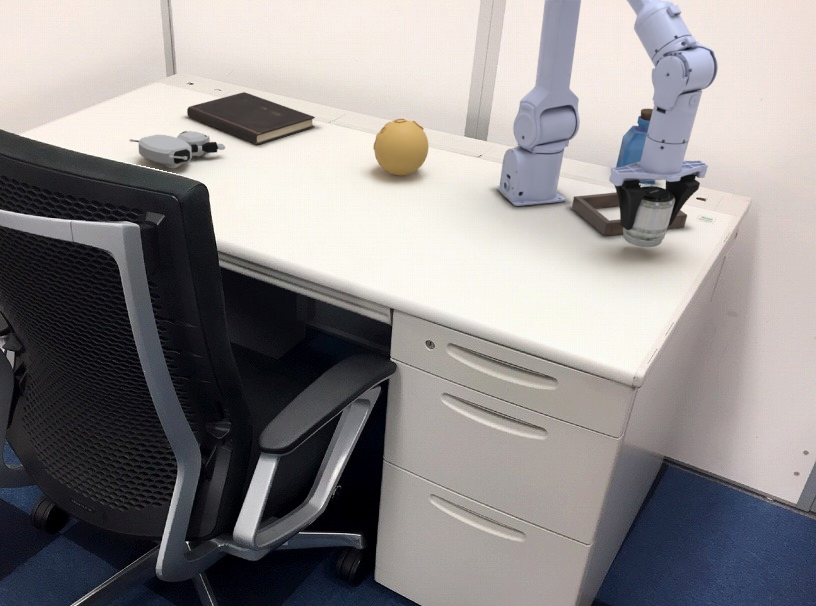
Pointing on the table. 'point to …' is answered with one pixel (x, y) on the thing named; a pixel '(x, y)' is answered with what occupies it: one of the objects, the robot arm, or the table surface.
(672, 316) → the table surface
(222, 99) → the hardcover book
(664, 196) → the camera lens
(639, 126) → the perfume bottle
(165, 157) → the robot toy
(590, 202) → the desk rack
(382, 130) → the stress ball
